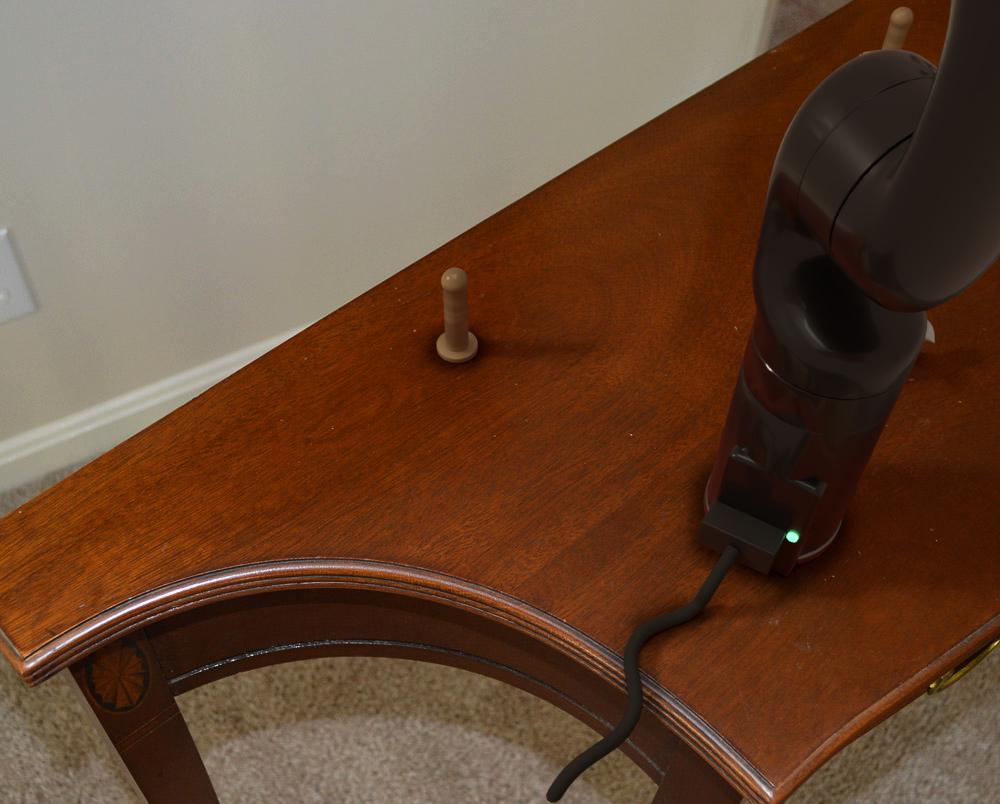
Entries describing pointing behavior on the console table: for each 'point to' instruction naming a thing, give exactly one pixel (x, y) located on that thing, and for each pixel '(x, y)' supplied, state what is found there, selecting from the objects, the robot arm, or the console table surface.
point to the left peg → (456, 319)
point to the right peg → (898, 28)
